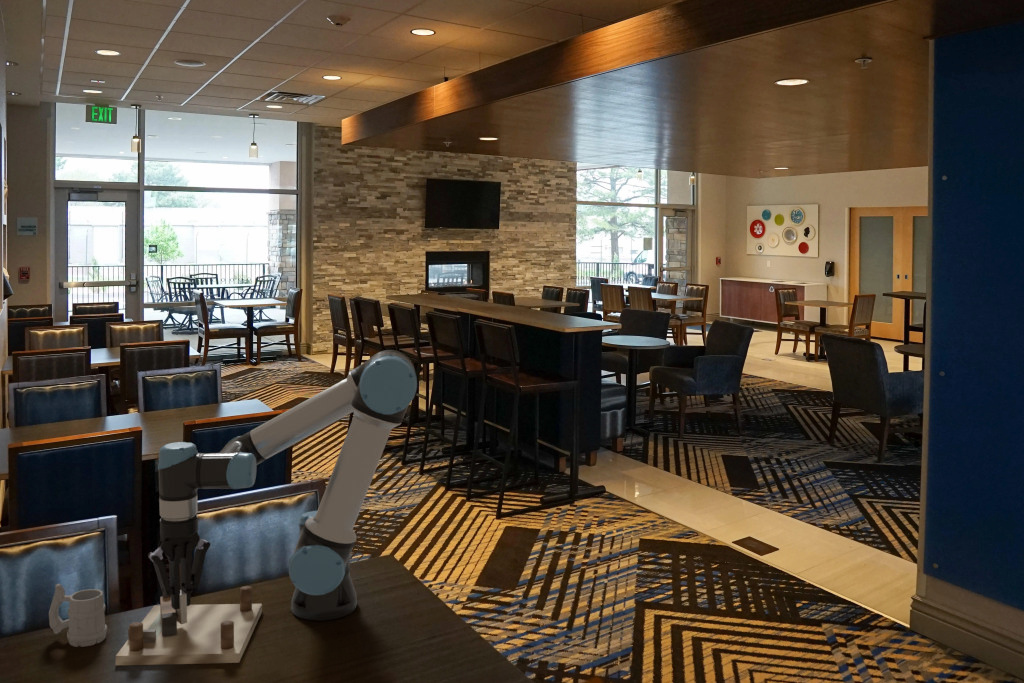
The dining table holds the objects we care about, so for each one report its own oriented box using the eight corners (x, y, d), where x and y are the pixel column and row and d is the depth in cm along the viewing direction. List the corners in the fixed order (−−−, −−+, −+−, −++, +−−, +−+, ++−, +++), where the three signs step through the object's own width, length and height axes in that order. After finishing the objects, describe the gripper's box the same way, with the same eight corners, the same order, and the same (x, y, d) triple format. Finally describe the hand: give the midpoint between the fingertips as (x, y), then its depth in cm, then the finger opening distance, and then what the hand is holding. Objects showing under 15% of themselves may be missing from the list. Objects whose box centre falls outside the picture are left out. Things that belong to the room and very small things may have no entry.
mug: (96, 648, 171) (95, 592, 169) (39, 647, 170) (38, 591, 169) (114, 631, 178) (113, 578, 177) (59, 630, 178) (57, 577, 177)
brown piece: (160, 610, 184) (159, 585, 183) (173, 608, 185) (173, 584, 185) (162, 636, 172) (162, 610, 171) (176, 634, 173) (176, 608, 172)
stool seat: (262, 611, 190) (262, 582, 190) (239, 662, 167) (239, 629, 166) (154, 613, 188) (154, 584, 187) (115, 665, 164) (115, 632, 163)
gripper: (199, 505, 181) (202, 607, 184) (141, 518, 172) (144, 625, 175) (215, 513, 176) (217, 618, 179) (156, 526, 167) (159, 637, 170)
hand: (181, 621), depth 177 cm, fingers closed
